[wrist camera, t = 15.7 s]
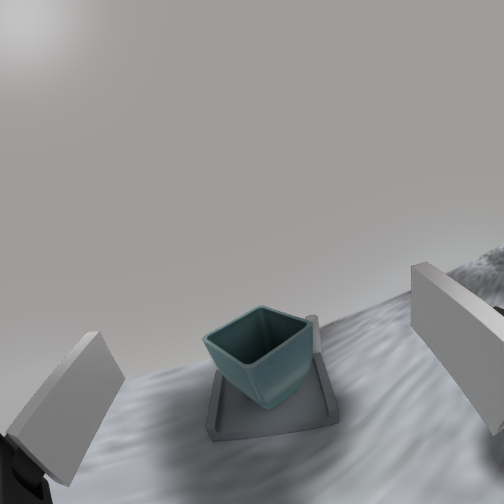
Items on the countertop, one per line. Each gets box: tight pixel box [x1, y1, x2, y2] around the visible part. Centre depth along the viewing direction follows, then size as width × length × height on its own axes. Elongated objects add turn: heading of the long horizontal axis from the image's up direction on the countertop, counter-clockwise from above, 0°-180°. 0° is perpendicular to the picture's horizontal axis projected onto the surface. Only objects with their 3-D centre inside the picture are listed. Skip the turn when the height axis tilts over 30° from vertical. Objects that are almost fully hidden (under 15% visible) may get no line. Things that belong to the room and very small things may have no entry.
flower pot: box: [202, 306, 313, 410], centre depth 30 cm, size 9×9×9 cm
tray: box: [205, 315, 339, 441], centre depth 30 cm, size 15×12×8 cm
